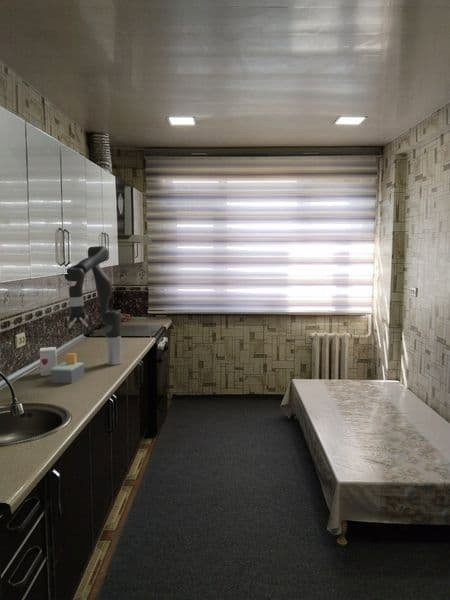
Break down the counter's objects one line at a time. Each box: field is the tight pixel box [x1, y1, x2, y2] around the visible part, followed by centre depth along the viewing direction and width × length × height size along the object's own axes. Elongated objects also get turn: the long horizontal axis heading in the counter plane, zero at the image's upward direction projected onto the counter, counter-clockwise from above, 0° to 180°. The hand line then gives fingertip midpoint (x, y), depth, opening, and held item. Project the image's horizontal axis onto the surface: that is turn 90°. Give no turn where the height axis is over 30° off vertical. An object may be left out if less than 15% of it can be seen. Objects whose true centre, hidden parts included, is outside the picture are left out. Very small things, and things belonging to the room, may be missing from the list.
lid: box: [51, 352, 85, 371], centre depth 288 cm, size 15×12×8 cm
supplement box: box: [39, 346, 58, 377], centre depth 303 cm, size 9×9×15 cm
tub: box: [50, 363, 85, 384], centre depth 288 cm, size 15×12×7 cm
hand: (78, 334), depth 283 cm, fingers open, 8 cm apart
